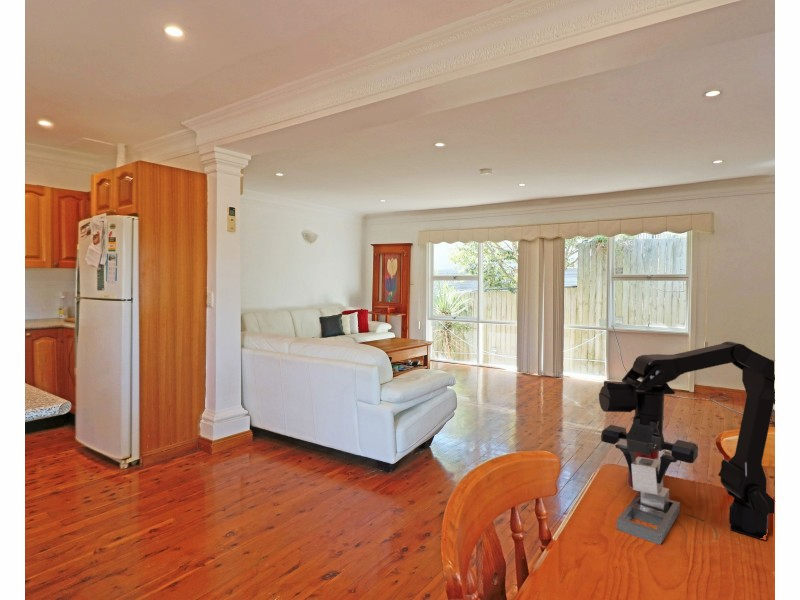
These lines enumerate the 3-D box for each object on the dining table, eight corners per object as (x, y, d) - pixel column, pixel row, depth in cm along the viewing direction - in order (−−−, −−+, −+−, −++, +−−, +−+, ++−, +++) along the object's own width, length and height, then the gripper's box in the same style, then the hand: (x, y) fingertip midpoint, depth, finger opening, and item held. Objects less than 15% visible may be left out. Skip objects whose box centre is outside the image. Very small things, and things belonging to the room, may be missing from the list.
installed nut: (668, 512, 113) (669, 487, 112) (663, 521, 109) (664, 495, 109) (645, 505, 116) (646, 481, 116) (640, 513, 113) (640, 488, 112)
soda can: (621, 484, 128) (622, 442, 127) (639, 479, 131) (640, 438, 130) (645, 496, 121) (646, 451, 120) (663, 490, 124) (665, 447, 123)
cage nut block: (663, 486, 106) (661, 459, 106) (657, 494, 102) (655, 466, 102) (639, 481, 109) (637, 455, 109) (633, 489, 106) (631, 462, 106)
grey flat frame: (679, 512, 113) (680, 502, 113) (660, 545, 100) (660, 533, 100) (639, 500, 119) (640, 490, 119) (616, 529, 106) (616, 518, 106)
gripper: (593, 411, 105) (591, 478, 106) (689, 431, 92) (685, 507, 93) (610, 401, 113) (608, 463, 114) (700, 418, 100) (696, 488, 101)
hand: (646, 479), depth 105 cm, fingers closed on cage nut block, 5 cm apart
